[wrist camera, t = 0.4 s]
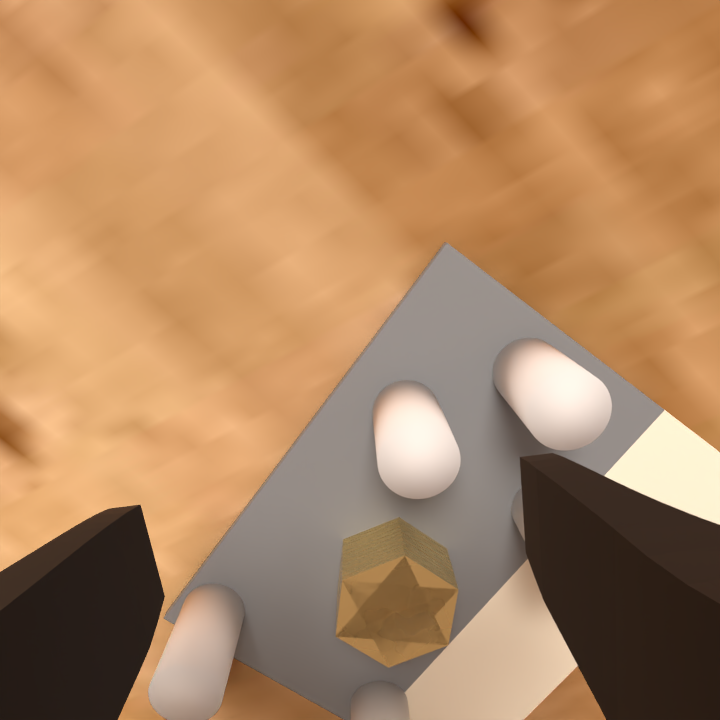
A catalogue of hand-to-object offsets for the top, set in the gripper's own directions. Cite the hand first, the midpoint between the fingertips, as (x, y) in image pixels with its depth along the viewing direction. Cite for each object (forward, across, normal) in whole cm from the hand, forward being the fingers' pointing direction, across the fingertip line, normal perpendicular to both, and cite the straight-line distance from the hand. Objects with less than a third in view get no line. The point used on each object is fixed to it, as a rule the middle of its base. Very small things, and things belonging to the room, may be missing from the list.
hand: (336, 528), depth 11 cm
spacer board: (+10, -3, +8) cm, 13 cm away
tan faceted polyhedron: (+10, -1, +8) cm, 12 cm away
